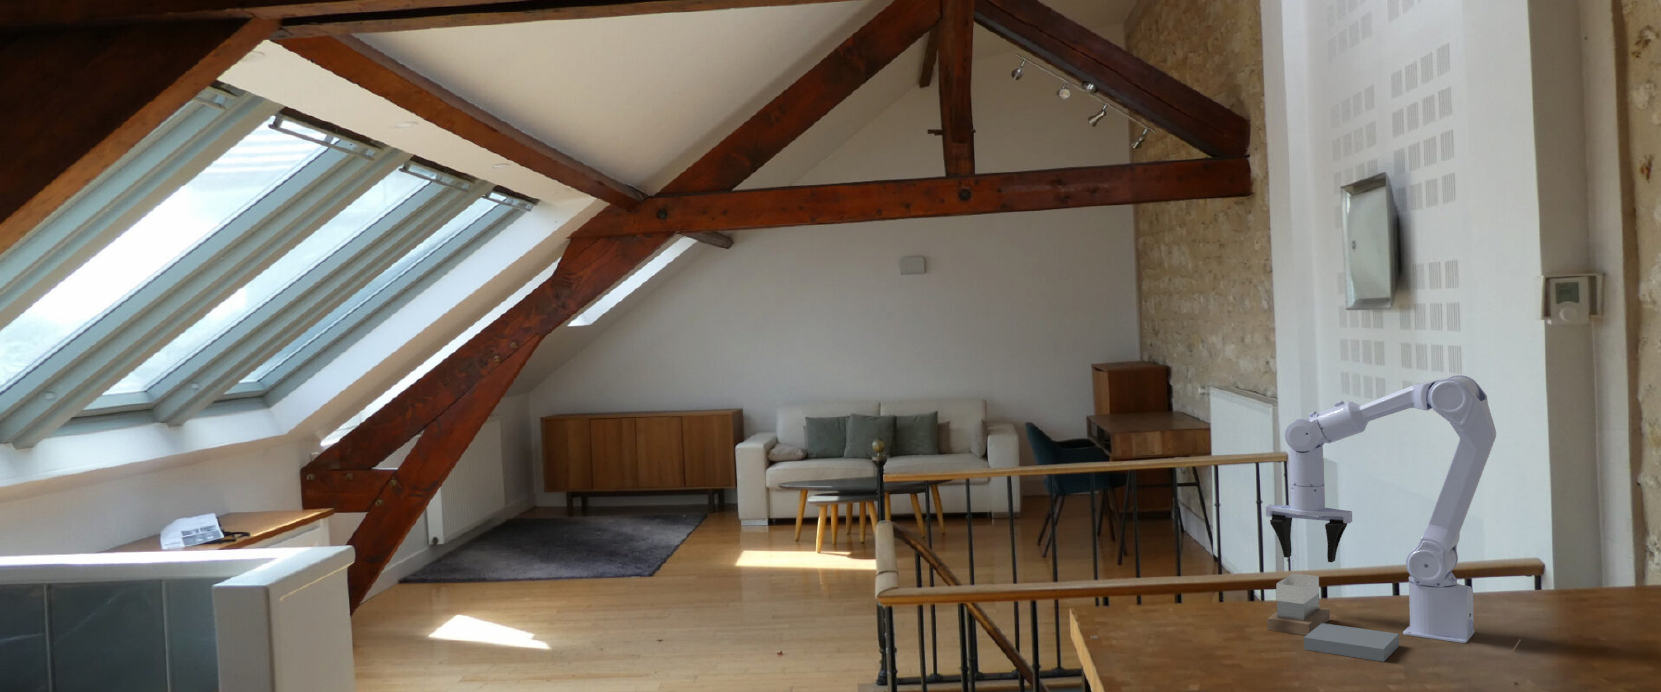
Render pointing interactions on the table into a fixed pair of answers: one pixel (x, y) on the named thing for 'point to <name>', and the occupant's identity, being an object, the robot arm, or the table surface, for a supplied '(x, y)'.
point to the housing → (1297, 597)
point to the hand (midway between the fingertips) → (1309, 558)
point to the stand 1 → (1298, 623)
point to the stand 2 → (1352, 642)
